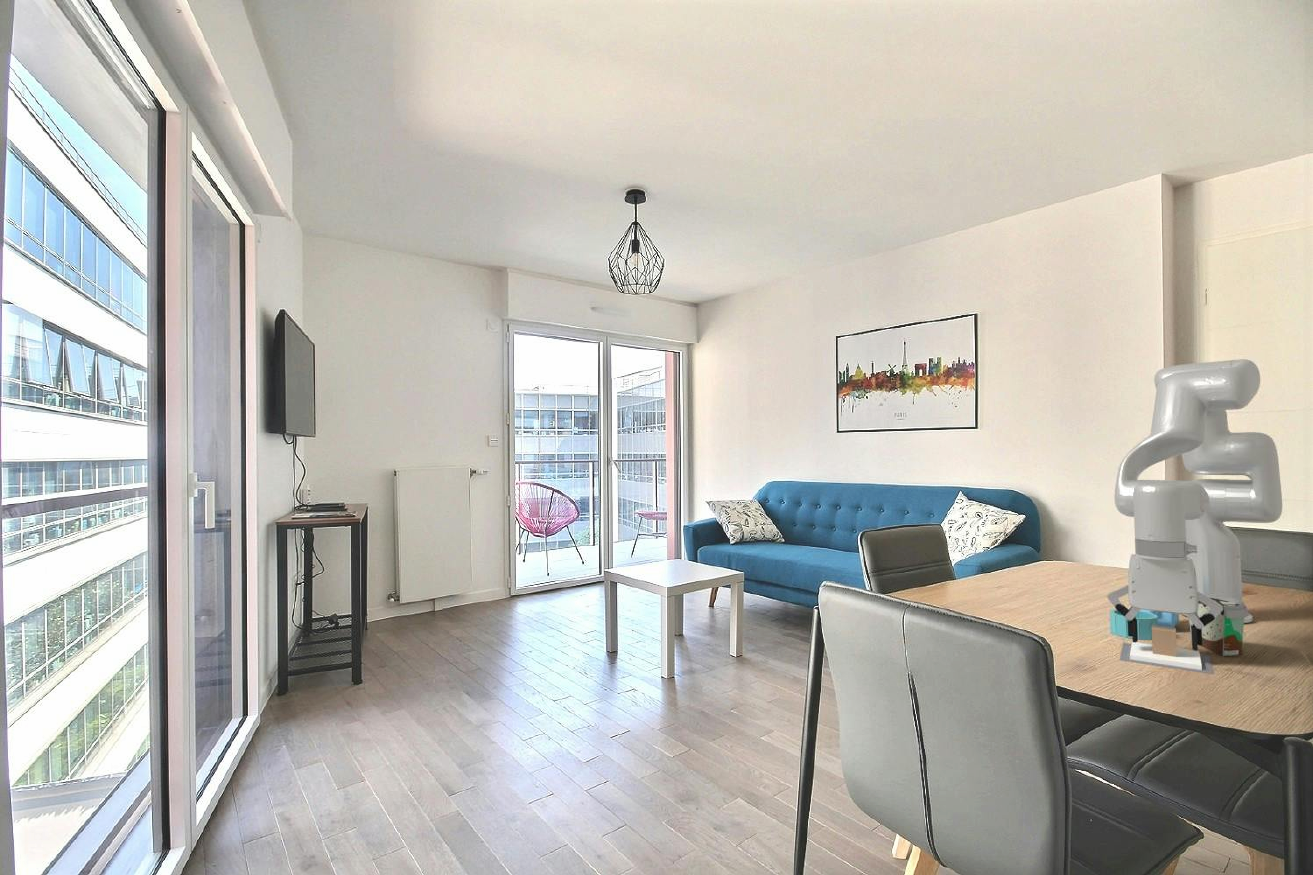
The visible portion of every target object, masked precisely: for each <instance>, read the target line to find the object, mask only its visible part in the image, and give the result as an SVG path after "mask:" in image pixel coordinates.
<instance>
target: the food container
mask: <svg viewBox="0 0 1313 875" xmlns="http://www.w3.org/2000/svg"><path fill="white" fill-rule="evenodd" d="M1203 595H1205V596H1207V597H1209V598H1210V599H1212V600H1214V601H1215V602H1217V603H1219V604H1220V605H1222V607H1223V610H1222V612H1221V613H1220V614H1219V615H1218V616H1217V617H1216V618H1215V619H1214V620H1213V621H1212V622H1210V623H1209V624H1207V625H1206V626H1204V627H1203V628H1202V646H1201V647H1202V648H1204V649H1207V650H1209V651H1210V652H1212V653H1215V654H1217V655H1219V656H1222V658H1233V657H1240V656H1242V654H1243V639H1244V638H1243V637H1244V624H1245V623H1244V617H1247V616H1249V614H1250V613H1249V611H1248V607H1247V606H1246V605H1245V601H1243V600H1242V601H1240V600H1237V599H1233V598H1228V597H1223V596H1217V595H1209V594H1203ZM1209 610H1210V607H1209V606H1207V605H1205V604H1204V603H1202V602H1200V601H1199V606H1198V612H1197V613H1196V614H1197V615H1198V616H1199V617H1201V616H1203V615H1204V614H1206V613H1207V612H1208V611H1209ZM1188 622H1189V628H1190V629H1189V631H1190V641H1191V643H1192V634H1191V626H1193V623H1192V622H1191V620H1190V619H1189V618H1188Z"/></svg>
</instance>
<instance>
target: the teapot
mask: <svg viewBox="0 0 1313 875" xmlns="http://www.w3.org/2000/svg"><path fill="white" fill-rule="evenodd" d="M1140 611H1144V612H1149V613H1153V614H1155V615H1157V616H1158V626H1166V627H1174V628H1176V626H1177V625H1178V624H1179V623H1180V616H1179V615H1180V614H1174V613H1165V612H1156V611H1147V610H1140Z"/></svg>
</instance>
